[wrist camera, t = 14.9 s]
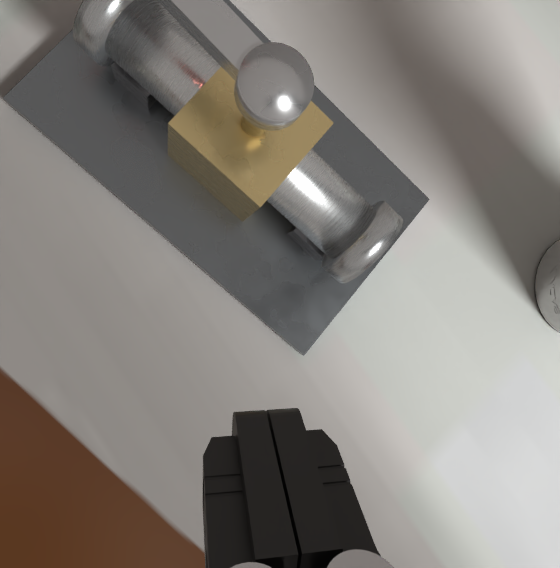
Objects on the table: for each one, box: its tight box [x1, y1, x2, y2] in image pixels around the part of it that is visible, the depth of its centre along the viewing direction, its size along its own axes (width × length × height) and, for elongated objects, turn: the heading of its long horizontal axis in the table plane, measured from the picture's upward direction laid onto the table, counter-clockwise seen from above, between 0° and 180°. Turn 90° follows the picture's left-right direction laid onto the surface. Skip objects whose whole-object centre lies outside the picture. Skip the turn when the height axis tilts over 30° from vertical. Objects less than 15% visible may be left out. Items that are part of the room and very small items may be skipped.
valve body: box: [3, 0, 429, 355], centre depth 31 cm, size 27×16×12 cm, turn 49°
